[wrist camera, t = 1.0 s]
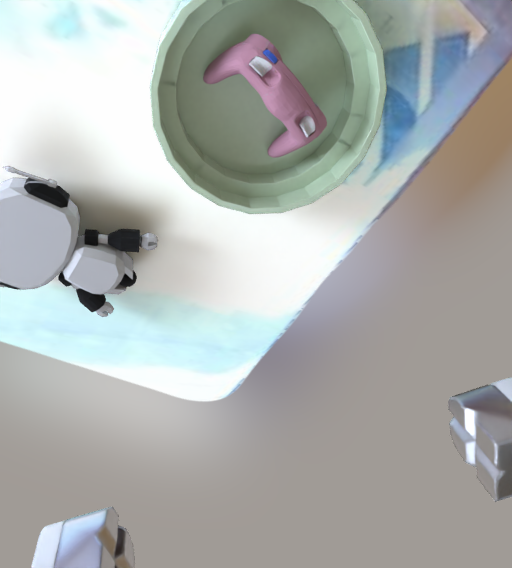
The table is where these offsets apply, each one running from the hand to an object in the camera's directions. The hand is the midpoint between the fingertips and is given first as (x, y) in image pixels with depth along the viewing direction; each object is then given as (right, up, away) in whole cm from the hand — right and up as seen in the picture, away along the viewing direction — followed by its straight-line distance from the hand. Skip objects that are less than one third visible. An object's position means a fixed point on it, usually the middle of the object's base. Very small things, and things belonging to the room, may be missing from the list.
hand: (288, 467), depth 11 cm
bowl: (0, +21, +29) cm, 36 cm away
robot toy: (-19, +9, +35) cm, 41 cm away
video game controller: (0, +21, +29) cm, 36 cm away
